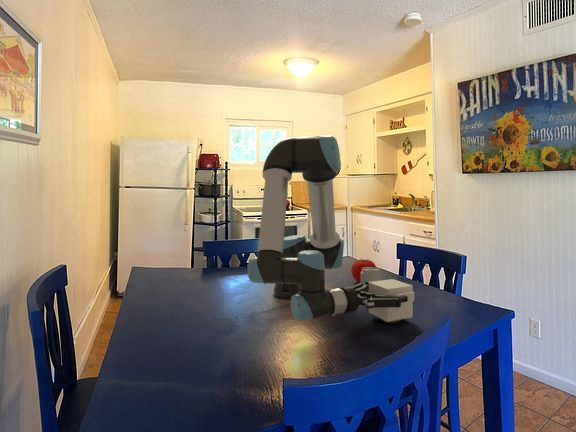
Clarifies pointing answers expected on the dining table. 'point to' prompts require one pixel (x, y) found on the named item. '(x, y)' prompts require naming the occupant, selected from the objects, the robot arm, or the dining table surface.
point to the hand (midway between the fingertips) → (399, 290)
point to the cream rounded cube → (391, 289)
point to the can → (370, 275)
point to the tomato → (360, 268)
